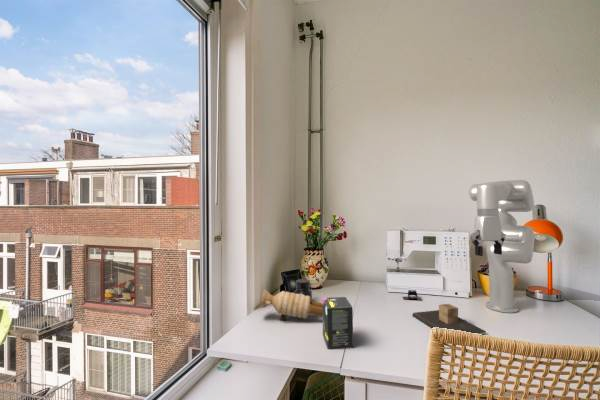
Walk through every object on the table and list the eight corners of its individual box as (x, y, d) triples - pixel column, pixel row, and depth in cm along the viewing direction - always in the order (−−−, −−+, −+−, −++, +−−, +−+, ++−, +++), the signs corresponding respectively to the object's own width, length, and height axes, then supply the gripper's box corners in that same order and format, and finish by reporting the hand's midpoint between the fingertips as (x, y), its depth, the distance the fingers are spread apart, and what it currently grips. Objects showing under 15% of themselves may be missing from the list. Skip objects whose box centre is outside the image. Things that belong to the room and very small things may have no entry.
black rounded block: (423, 298, 155) (423, 289, 155) (426, 302, 148) (426, 293, 148) (399, 296, 158) (399, 288, 158) (400, 301, 151) (400, 292, 151)
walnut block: (449, 318, 124) (449, 303, 124) (458, 322, 119) (458, 307, 119) (439, 319, 123) (438, 304, 123) (447, 324, 118) (447, 309, 118)
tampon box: (322, 335, 113) (321, 297, 113) (346, 334, 114) (345, 296, 114) (327, 349, 102) (326, 307, 102) (353, 348, 103) (353, 306, 103)
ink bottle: (316, 304, 147) (315, 280, 147) (306, 309, 140) (306, 284, 140) (299, 300, 152) (299, 277, 152) (289, 306, 145) (289, 281, 145)
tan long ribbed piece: (326, 324, 132) (261, 310, 133) (331, 297, 132) (266, 284, 133) (327, 334, 122) (257, 319, 123) (333, 305, 122) (262, 290, 123)
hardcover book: (443, 314, 134) (443, 309, 134) (486, 337, 111) (486, 331, 111) (412, 318, 130) (412, 312, 130) (449, 342, 108) (449, 335, 108)
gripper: (496, 212, 128) (497, 252, 127) (463, 213, 123) (463, 254, 123) (512, 213, 120) (513, 255, 120) (478, 214, 116) (479, 257, 116)
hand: (488, 254), depth 122 cm, fingers open, 9 cm apart
